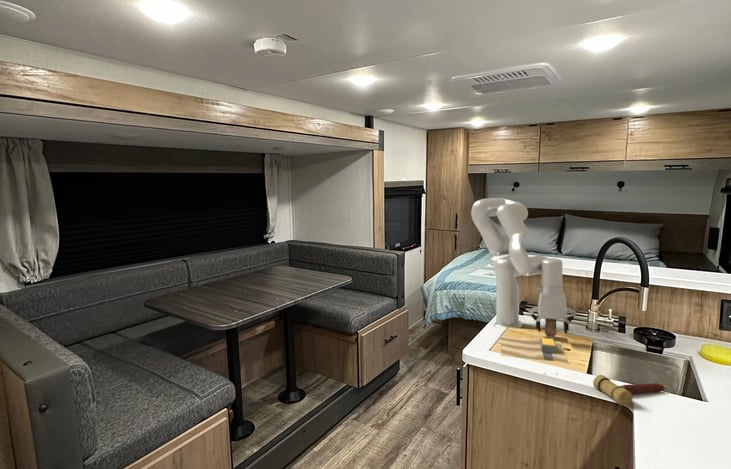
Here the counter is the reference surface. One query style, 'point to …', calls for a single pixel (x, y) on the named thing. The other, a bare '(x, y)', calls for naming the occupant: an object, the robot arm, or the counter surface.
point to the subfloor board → (530, 349)
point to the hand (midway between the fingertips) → (552, 331)
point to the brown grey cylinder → (550, 328)
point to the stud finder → (548, 345)
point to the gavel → (624, 389)
